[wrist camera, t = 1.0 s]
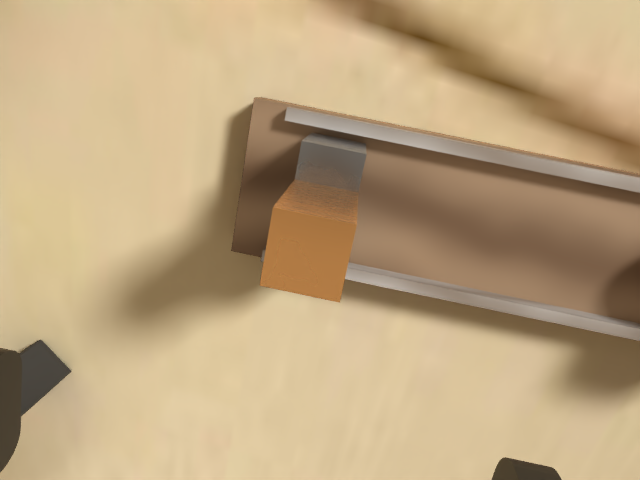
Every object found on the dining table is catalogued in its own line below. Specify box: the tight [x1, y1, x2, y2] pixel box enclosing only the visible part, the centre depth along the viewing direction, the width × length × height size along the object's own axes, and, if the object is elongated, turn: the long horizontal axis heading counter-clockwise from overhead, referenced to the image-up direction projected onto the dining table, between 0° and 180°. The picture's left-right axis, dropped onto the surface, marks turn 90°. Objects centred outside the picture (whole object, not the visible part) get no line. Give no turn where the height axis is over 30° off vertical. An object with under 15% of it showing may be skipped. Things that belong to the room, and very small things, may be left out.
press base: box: [231, 97, 640, 341], centre depth 27 cm, size 9×34×8 cm, turn 79°
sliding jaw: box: [260, 133, 367, 302], centre depth 23 cm, size 7×3×11 cm, turn 169°
